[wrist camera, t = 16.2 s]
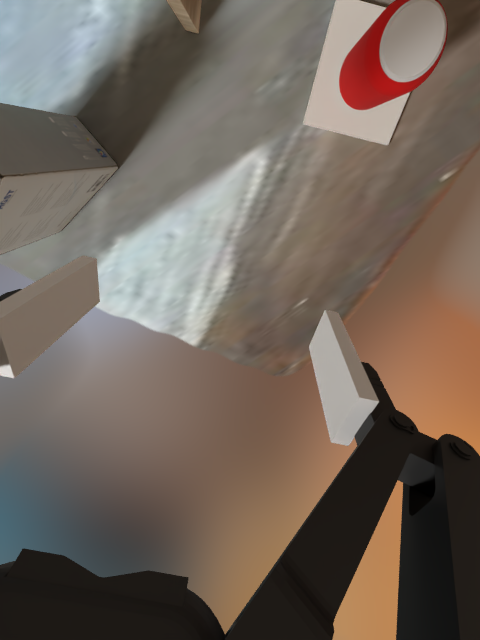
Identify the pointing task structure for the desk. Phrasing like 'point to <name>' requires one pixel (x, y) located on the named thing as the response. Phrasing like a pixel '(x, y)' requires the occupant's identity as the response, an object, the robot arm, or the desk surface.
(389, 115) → the felt pad
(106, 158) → the hard drive box
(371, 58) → the beverage can
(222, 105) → the desk surface
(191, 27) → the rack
